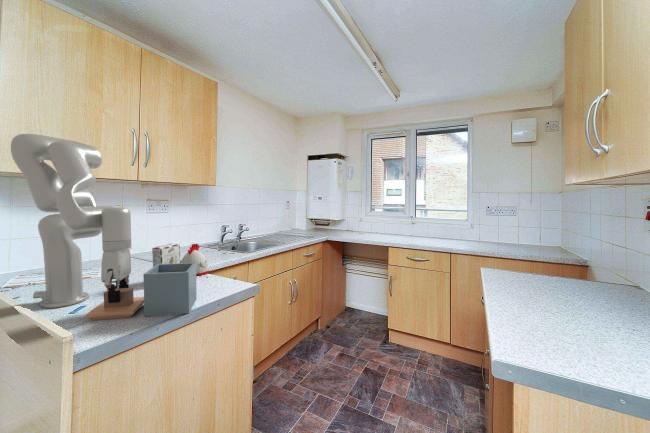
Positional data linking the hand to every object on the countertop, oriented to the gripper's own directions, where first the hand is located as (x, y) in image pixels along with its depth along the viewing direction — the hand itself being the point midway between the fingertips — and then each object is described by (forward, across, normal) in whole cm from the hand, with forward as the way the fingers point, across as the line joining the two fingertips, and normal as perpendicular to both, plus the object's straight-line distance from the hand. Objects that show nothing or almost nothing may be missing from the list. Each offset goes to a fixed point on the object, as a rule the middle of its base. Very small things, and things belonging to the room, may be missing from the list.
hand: (118, 298), depth 89 cm
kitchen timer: (+5, -42, +15) cm, 45 cm away
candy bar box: (+5, -32, +6) cm, 32 cm away
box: (+4, 0, +16) cm, 17 cm away
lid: (+5, 0, 0) cm, 5 cm away
